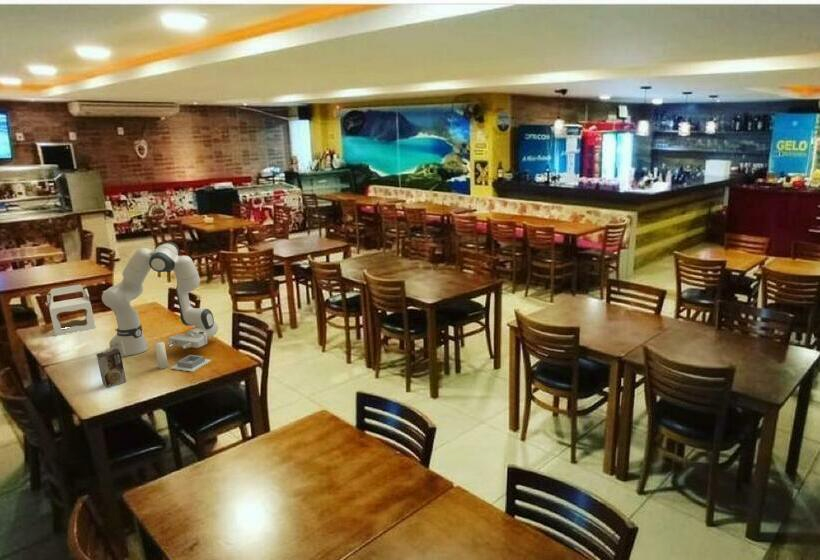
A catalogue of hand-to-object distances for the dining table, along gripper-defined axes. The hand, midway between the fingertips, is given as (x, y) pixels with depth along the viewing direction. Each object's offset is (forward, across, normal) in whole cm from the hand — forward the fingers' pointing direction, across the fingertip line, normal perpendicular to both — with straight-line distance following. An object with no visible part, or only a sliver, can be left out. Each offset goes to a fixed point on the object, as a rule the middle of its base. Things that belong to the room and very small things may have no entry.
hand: (175, 346), depth 293 cm
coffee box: (+32, -9, +8) cm, 34 cm away
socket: (+4, +13, +7) cm, 16 cm away
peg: (+10, 0, +8) cm, 13 cm away
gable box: (-20, -101, +8) cm, 103 cm away
